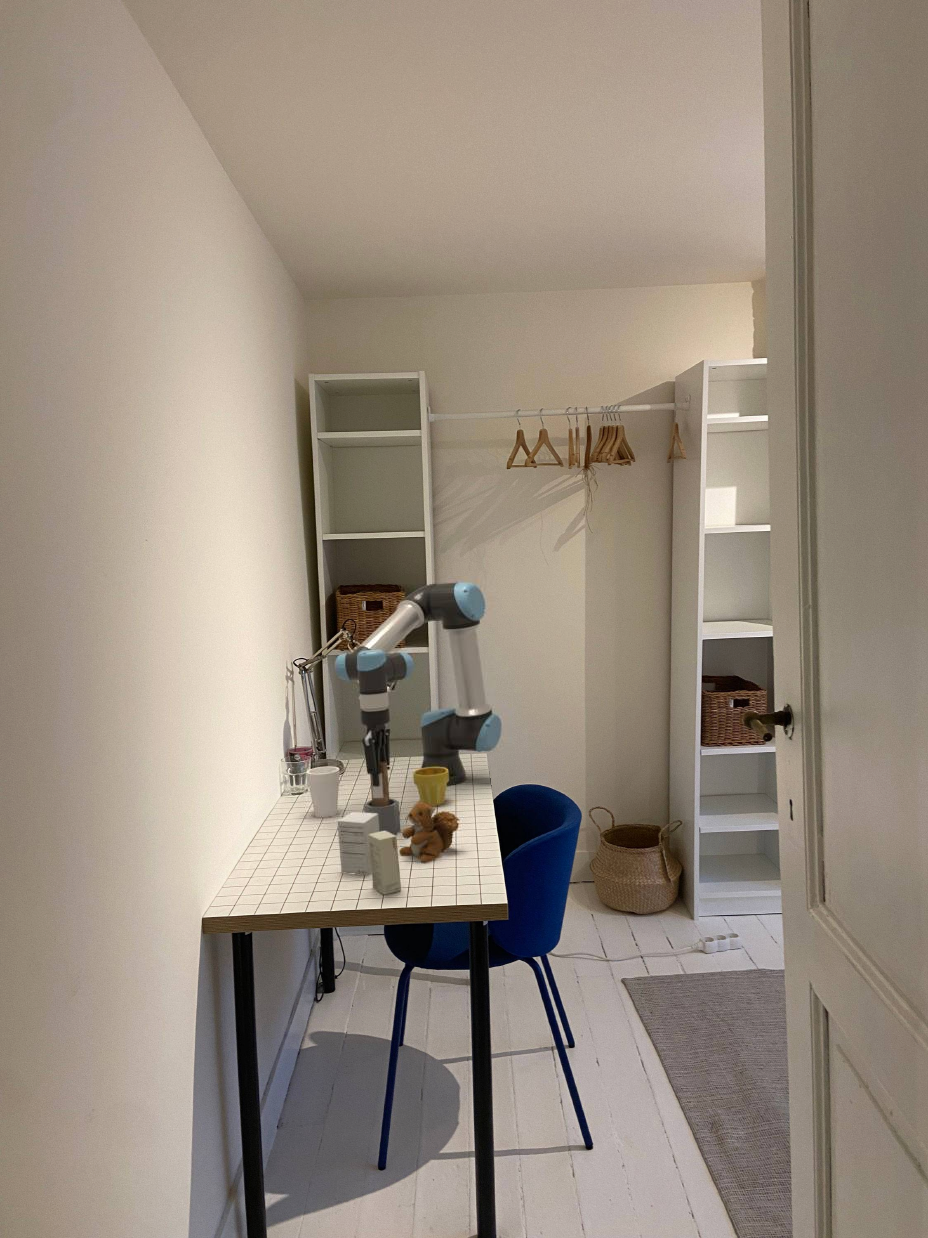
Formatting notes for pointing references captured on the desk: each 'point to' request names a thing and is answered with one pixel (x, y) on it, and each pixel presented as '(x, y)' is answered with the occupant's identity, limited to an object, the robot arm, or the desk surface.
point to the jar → (386, 816)
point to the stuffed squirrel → (429, 832)
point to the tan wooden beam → (385, 800)
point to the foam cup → (324, 790)
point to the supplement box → (356, 841)
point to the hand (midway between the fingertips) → (380, 796)
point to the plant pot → (431, 784)
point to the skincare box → (384, 862)
